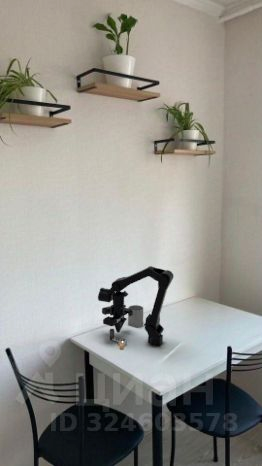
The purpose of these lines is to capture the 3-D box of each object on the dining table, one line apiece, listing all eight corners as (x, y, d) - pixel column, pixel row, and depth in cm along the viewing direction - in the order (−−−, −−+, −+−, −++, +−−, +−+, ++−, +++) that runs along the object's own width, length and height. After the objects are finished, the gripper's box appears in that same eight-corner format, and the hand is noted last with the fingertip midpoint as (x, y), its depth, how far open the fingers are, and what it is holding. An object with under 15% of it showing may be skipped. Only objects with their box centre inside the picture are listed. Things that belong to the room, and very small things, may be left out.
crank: (128, 343, 194) (128, 332, 192) (123, 347, 190) (123, 335, 189) (112, 338, 199) (112, 327, 198) (107, 341, 195) (107, 330, 194)
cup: (141, 328, 215) (141, 311, 213) (126, 327, 216) (127, 310, 214) (144, 322, 223) (144, 305, 221) (129, 321, 224) (130, 304, 222)
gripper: (116, 295, 209) (116, 322, 212) (94, 305, 194) (94, 334, 197) (133, 299, 203) (133, 327, 206) (112, 310, 188) (112, 340, 191)
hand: (118, 332), depth 200 cm, fingers closed
